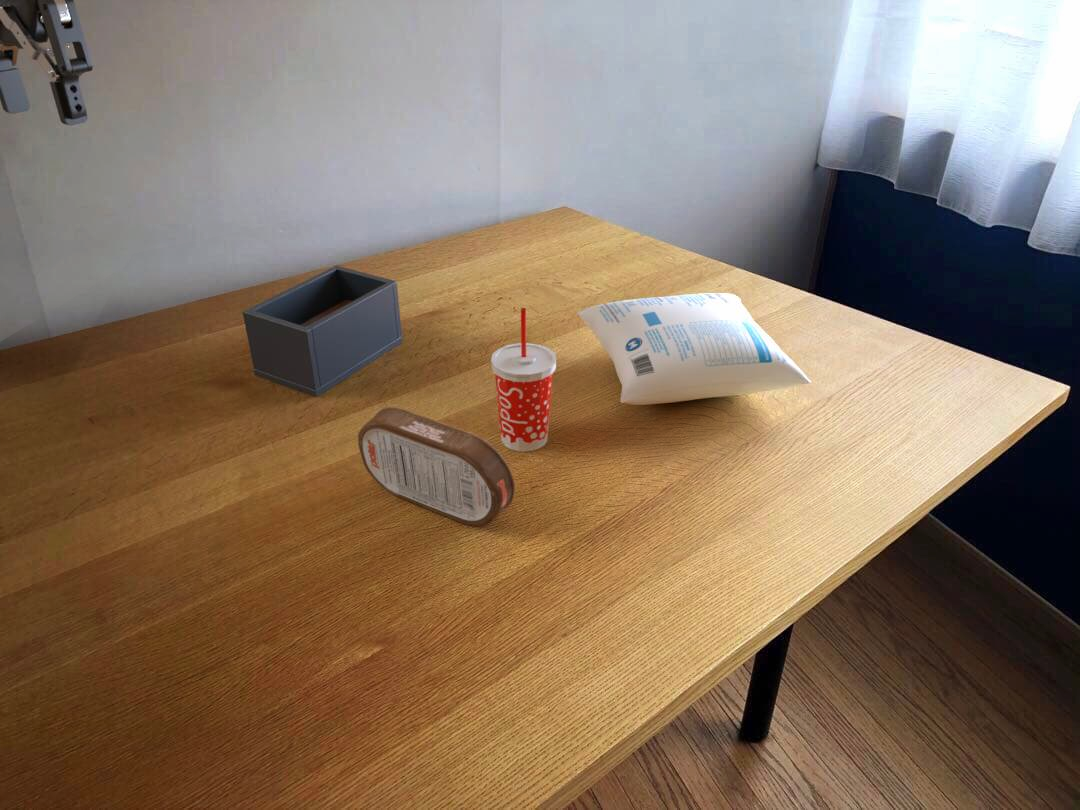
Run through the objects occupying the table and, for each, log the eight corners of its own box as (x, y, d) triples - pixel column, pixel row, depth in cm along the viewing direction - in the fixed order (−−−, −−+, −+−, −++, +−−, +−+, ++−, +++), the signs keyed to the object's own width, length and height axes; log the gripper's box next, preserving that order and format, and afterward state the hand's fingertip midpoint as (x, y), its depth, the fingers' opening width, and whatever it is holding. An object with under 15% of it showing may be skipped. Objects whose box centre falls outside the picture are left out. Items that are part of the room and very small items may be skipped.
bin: (316, 397, 91) (306, 331, 87) (254, 375, 95) (241, 311, 91) (402, 342, 102) (397, 281, 98) (343, 324, 106) (336, 265, 101)
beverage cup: (481, 433, 85) (476, 304, 78) (533, 415, 88) (533, 289, 81) (514, 463, 81) (512, 330, 74) (567, 443, 84) (571, 313, 76)
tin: (517, 523, 74) (516, 442, 69) (497, 544, 71) (495, 461, 67) (380, 469, 80) (371, 392, 76) (357, 487, 78) (347, 408, 73)
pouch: (621, 364, 81) (818, 338, 84) (575, 288, 98) (741, 268, 101) (620, 434, 85) (808, 408, 88) (576, 350, 102) (736, 330, 105)
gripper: (83, -86, 70) (132, 119, 78) (-19, -91, 76) (36, 100, 84) (-7, -83, 64) (56, 137, 73) (-110, -88, 70) (-40, 116, 79)
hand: (46, 117), depth 79 cm, fingers open, 8 cm apart
